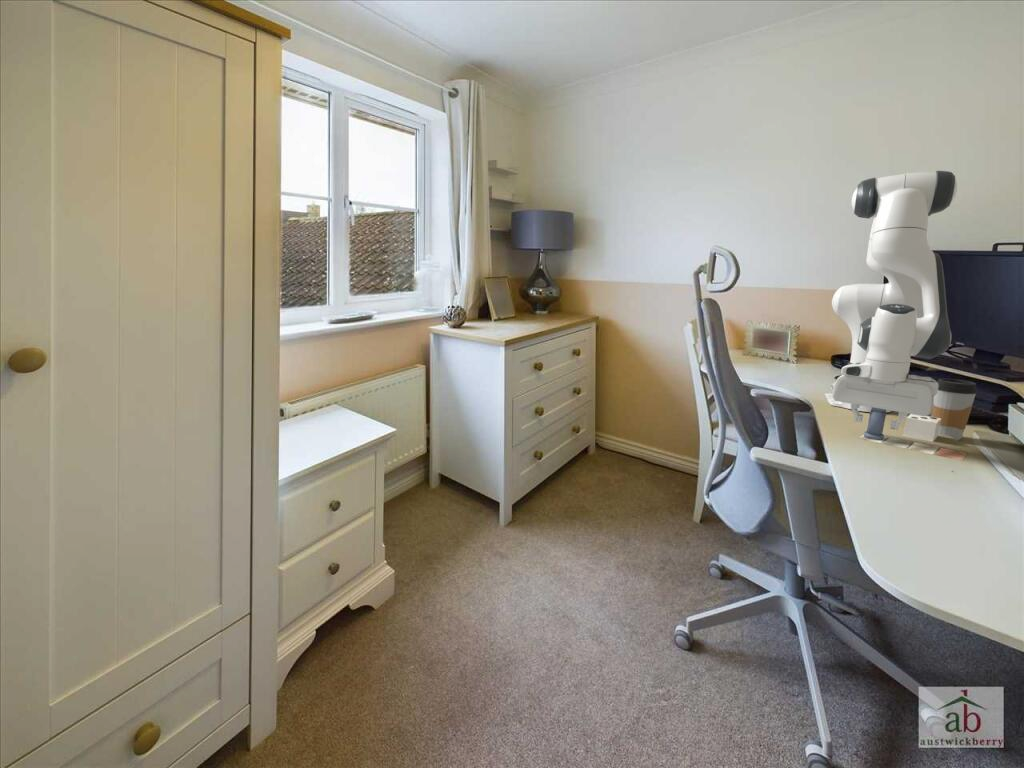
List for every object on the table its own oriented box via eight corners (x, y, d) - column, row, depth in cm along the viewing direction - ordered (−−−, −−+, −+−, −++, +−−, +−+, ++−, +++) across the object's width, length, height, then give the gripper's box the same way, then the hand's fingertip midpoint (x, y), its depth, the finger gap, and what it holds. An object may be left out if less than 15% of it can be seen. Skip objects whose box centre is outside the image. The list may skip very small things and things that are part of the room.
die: (901, 439, 126) (906, 417, 124) (907, 435, 130) (911, 413, 128) (931, 446, 121) (936, 422, 120) (936, 440, 125) (941, 418, 124)
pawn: (861, 434, 126) (867, 399, 124) (878, 435, 125) (885, 400, 123) (868, 439, 122) (874, 403, 120) (886, 440, 121) (893, 404, 119)
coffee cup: (933, 430, 134) (944, 377, 130) (972, 439, 127) (985, 383, 123) (918, 434, 130) (929, 380, 127) (957, 444, 123) (970, 386, 119)
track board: (852, 442, 124) (853, 437, 123) (861, 435, 129) (862, 431, 129) (966, 467, 108) (967, 462, 108) (971, 458, 113) (973, 453, 113)
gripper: (942, 376, 114) (931, 432, 117) (842, 364, 129) (834, 414, 132) (937, 380, 110) (925, 438, 113) (834, 366, 125) (826, 418, 128)
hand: (875, 425), depth 123 cm, fingers open, 6 cm apart
